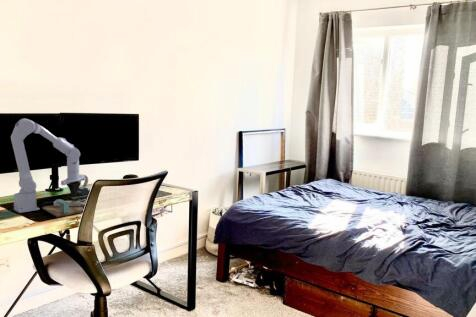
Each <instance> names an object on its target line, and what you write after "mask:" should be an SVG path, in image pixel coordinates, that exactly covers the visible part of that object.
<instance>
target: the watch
mask: <svg viewBox="0 0 476 317" xmlns="http://www.w3.org/2000/svg"><path fill="white" fill-rule="evenodd" d="M81 176H85V180H84V182H83V185H82V186H79V188H78V191H77V195H79V196H80V195H81V196H85V195H88V194H89V188H88V187H87V186H88V185H89V184H88V183H89V177H88V176H87V175H86V174H82V173H79V177H81ZM79 182H81V183H82V181H79Z"/></svg>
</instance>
